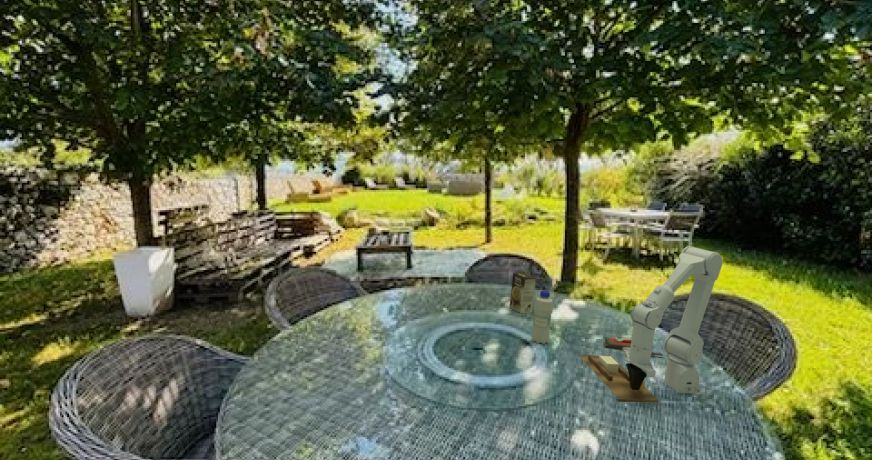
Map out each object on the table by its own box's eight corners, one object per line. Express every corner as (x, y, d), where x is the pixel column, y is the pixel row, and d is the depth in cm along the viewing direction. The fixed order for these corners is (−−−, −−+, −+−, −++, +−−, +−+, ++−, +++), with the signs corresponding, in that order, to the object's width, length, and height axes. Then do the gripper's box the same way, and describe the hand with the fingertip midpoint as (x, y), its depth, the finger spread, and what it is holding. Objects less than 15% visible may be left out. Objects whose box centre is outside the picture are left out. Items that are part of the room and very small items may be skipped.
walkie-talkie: (605, 353, 176) (663, 359, 174) (607, 341, 175) (665, 348, 173) (600, 343, 185) (655, 350, 183) (602, 332, 184) (657, 338, 182)
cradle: (658, 402, 141) (659, 395, 141) (618, 401, 140) (619, 394, 139) (610, 358, 171) (611, 352, 170) (578, 357, 169) (578, 351, 169)
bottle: (527, 343, 178) (533, 290, 175) (533, 337, 184) (539, 286, 181) (545, 348, 175) (552, 294, 172) (550, 342, 181) (557, 290, 178)
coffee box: (508, 307, 219) (512, 272, 217) (520, 306, 222) (524, 271, 220) (520, 313, 211) (524, 277, 209) (532, 312, 214) (536, 277, 211)
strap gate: (631, 381, 151) (633, 372, 151) (643, 391, 145) (644, 381, 145) (629, 381, 151) (630, 372, 151) (640, 391, 145) (641, 381, 145)
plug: (617, 372, 157) (619, 364, 157) (606, 372, 157) (607, 363, 156) (609, 364, 163) (610, 356, 163) (597, 364, 163) (599, 355, 162)
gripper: (616, 335, 149) (610, 377, 151) (641, 355, 135) (634, 401, 137) (638, 336, 150) (632, 377, 152) (665, 356, 136) (657, 401, 138)
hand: (634, 388), depth 145 cm, fingers closed
